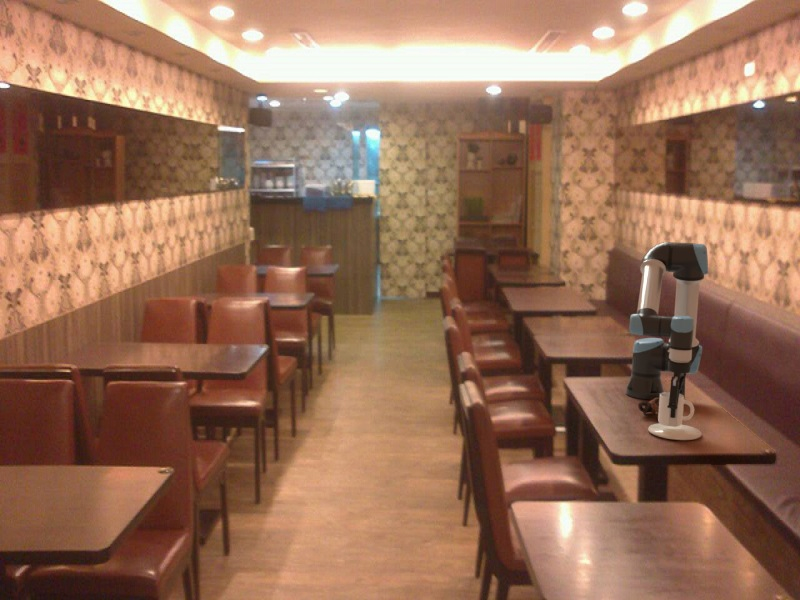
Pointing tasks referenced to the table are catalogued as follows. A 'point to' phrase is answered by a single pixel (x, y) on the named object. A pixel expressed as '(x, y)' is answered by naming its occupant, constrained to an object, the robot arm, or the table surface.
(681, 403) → the mug
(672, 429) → the serving plate
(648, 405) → the brown twisted loop piece
